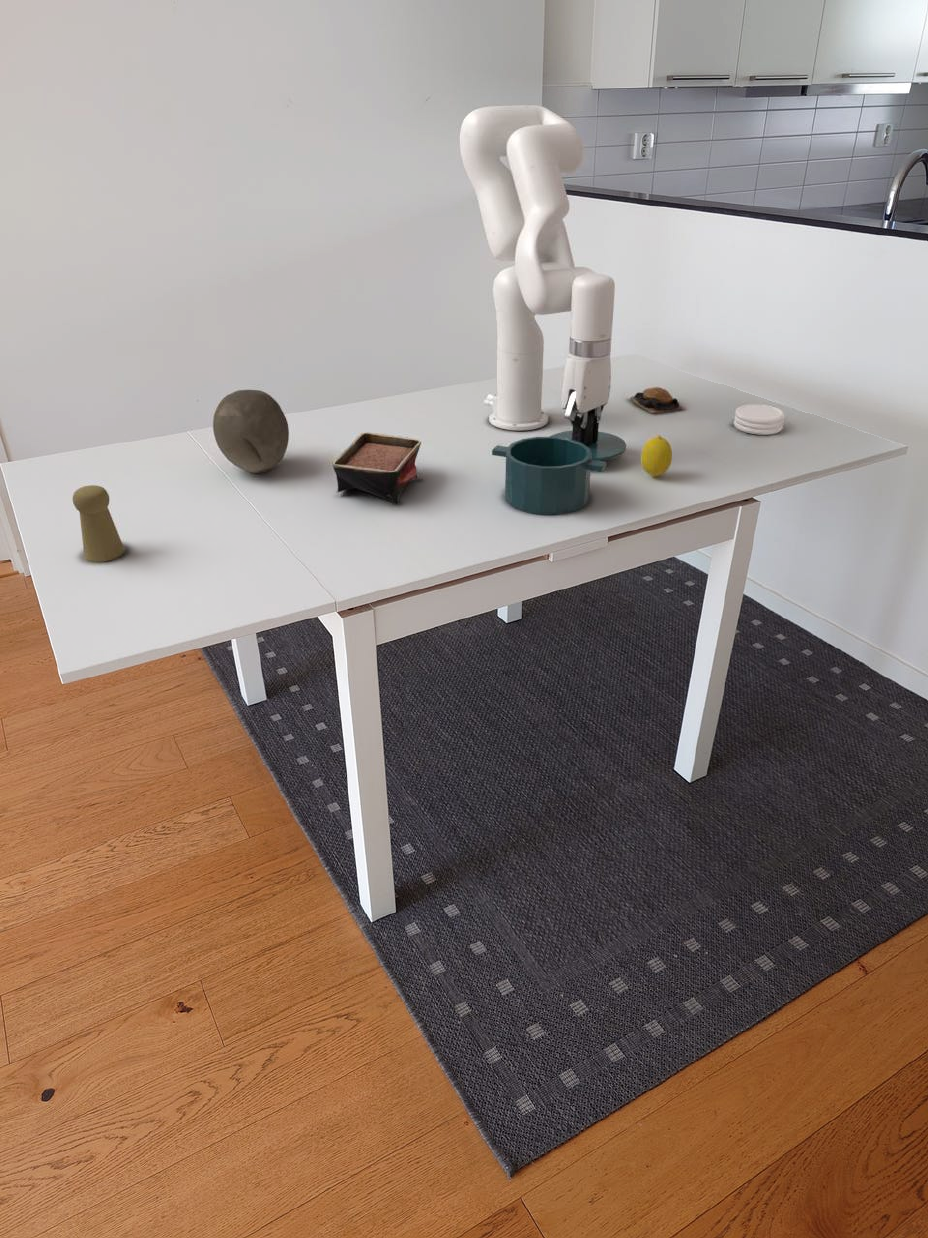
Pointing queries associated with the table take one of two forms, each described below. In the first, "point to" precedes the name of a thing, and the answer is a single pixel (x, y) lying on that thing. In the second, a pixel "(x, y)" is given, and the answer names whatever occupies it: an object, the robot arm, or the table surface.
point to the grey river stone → (251, 430)
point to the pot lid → (599, 442)
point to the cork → (97, 524)
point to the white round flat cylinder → (759, 419)
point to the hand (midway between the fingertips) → (584, 442)
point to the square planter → (378, 464)
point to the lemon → (656, 456)
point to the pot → (547, 474)
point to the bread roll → (656, 401)
